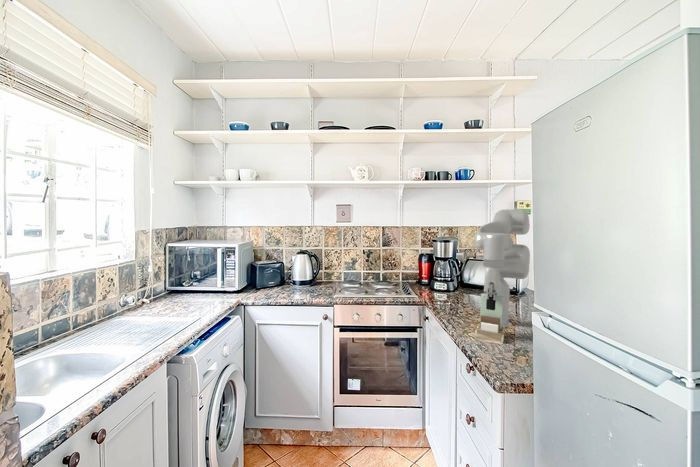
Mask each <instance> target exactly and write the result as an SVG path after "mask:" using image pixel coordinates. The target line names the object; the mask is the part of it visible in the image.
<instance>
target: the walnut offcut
mask: <svg viewBox="0 0 700 467" xmlns="http://www.w3.org/2000/svg"><path fill="white" fill-rule="evenodd" d="M481 322H484V323H490V324H496V325H498V331H500V318H497V317H490V316H484V315H481ZM479 323H480V322H479ZM480 328H481V323H480Z"/></svg>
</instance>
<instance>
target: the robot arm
mask: <svg viewBox="0 0 700 467" xmlns="http://www.w3.org/2000/svg"><path fill="white" fill-rule="evenodd" d="M530 228H531V226H530V217H529V214H528V212H527V211H526V210H524V209H509V208H505V209H500V210H497V212H495V214H494V216H493V220H492V221H491V222H488V223H486V224H483V225H482V226H480V227H479V229H477V233H476V235H475V238H474V245H475V247H476V248H477V249H478V250H483V259H482V261H483V263H482V265H483V268H485V272H484V286H483V292H484V294H487V301H486V309H488V310H495V303H496V300H495V295H496V296H503V313H502V327H503V328H504V327H506V328H507V327H510V326H512V325H513V324H512V323H511V322H510V321H509V313H510V312H509V311H510V293H511V292H510V291H511V290H510V285H509V284H508V283H509V282H507V281H506V280H505V279H516V280H524V279H526V278H527V277H528V275H529V272H530V262H531V261H530V259H531V253H530V252H531V251H530V249H529V246H527V245H525V244H517V243H515V244H514V241H513V238H512V237H511V235H517V236H518V235H523V236H524V235H527V234H528V233H529V230H530ZM493 295H494V296H493Z"/></svg>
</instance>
